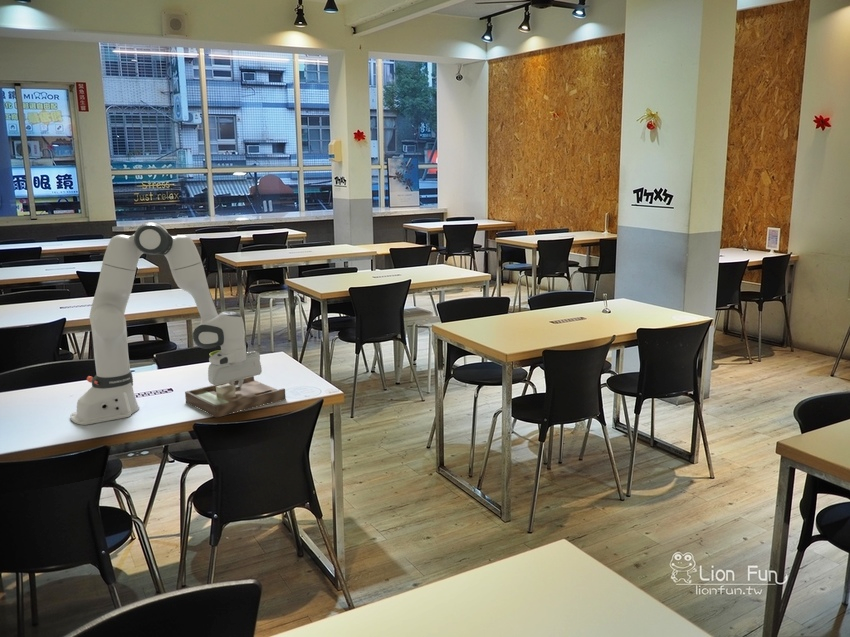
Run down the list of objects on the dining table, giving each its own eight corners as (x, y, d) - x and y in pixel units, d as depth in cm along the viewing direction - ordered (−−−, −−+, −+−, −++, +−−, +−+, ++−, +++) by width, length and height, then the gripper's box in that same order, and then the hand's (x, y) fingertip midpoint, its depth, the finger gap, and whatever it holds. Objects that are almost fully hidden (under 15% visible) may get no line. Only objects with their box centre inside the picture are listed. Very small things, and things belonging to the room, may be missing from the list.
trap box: (216, 417, 252) (215, 406, 251) (186, 402, 269) (185, 391, 269) (285, 399, 270) (284, 388, 270) (253, 385, 288) (252, 375, 287)
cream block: (223, 399, 263) (222, 389, 262) (216, 396, 267) (215, 386, 266) (235, 396, 266) (234, 386, 266) (229, 393, 270) (228, 383, 269)
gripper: (254, 348, 276) (257, 383, 279) (204, 358, 262) (207, 395, 265) (263, 351, 271) (265, 386, 274) (212, 362, 258) (215, 399, 261)
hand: (237, 390), depth 270 cm, fingers closed
